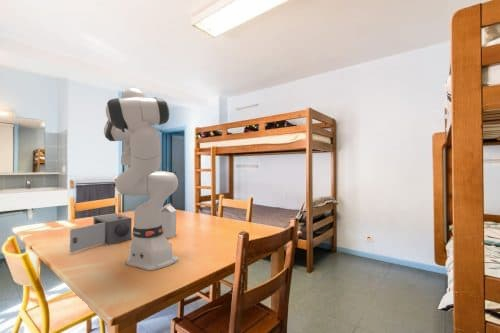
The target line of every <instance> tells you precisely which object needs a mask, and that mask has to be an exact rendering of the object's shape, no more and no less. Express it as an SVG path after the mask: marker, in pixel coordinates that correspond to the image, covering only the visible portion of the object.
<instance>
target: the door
mask: <svg viewBox="0 0 500 333" xmlns="http://www.w3.org/2000/svg"><path fill="white" fill-rule="evenodd" d="M105 243H107V222H104V223H99V224H94V225H93V224H90V225H86V226H80V227H75V228H71V229H70V230H69V252H70V253H74V252H78V251H82V250H84V249H89V248H92V247H96V246H99V245H103V244H105Z"/></svg>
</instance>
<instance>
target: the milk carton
mask: <svg viewBox="0 0 500 333" xmlns="http://www.w3.org/2000/svg"><path fill="white" fill-rule="evenodd" d="M161 225H162V228H163V229H164V230H163V235H164V237H165V238H166V239H172V238H174V237H175V236H176V235H177V209H175V207H173V206H172V203H168V204H165V205H163V207H162V212H161Z"/></svg>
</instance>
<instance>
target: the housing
mask: <svg viewBox="0 0 500 333" xmlns="http://www.w3.org/2000/svg"><path fill="white" fill-rule="evenodd" d="M132 220H133V219H132V217H129V216H125V215H122V214H120V213H119V214H118V213H112V214H111V213H110V214H102V215H97V216H95V215H94V216H93V224H92V225H94V224H99V223H104V222H107V243H104V244H105V245H108V246H109V245H113V244H118V243H121V242H125V241H130V240H131V241H132Z"/></svg>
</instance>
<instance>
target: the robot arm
mask: <svg viewBox="0 0 500 333" xmlns="http://www.w3.org/2000/svg"><path fill="white" fill-rule="evenodd" d="M170 112H171V111H170V108H169V106H168V103H167V101H165V100H164V98H160V97H147V96H146V94H145V93H144V92H143V91H142V90H141V89H139V88H135V87H133V88H132V87H131V88H127V89H125V90H124V91H123V93H122V94H121V97H120V98H118V97H116V98H111V99H108V101H107V102H106V107H105V116H106V118H107V121H106V123H105V125H104V128H103V134H104V137H105V139H106V140H108V141H109V142H123V144H122V145H123V146H122V150H123V151H122V152H121V156H120V158H121V159H120V165H121V166H127V169H126V170H125V171H122V172H121V173H119V175H118V176H117V178H116V179H115V189H116V190H117V192H118V194H120V195H125V196H131V197H133V196H135V197H136V196H137V197H138V196H139V197H140V196H141V197H142V196H148V197H149V199H148V200H147V201H145V202H143V203H141V204H139V205H138V206H136V208H135V210H134V213H133V214H134V215H133V216H134V217H133V218H134V220H133V221H134V223H133V224H134V225H133V227H132V237H133V238H131V241H130V242H129V252H128V259H126V260H125V264H126V265H129V266H132V267H136V268H138V269H139V268H140V269H143V270H146V271H155V270H159V269H162V268H166V267H168V266H171V265H173V264H175V263H177V262H178V261H179V257H178V256H176V255H175V254H174V253H173V244H172V242H169V241H168V238H165V237H164V235H163V230H164V229H163V228H162V225H161V212H162V209H163V207H164V204H165V203H166V200H167V199H168V198H169V197H170V196H171V195H172V194H174V193H175V192H176V191H177V189H178V186H179V180H178V177H177V175H176V174H175V173H174V172H169V171H165V170H164V171H163V170H159V169H160V167H161V164H162V154H161V153H162V152H161V150H162V149H161V148H162V147H161V141H160V135H159V133H158V130H157V128H155V127H154V126H157V125H158V126H160V125H164V124H166V123H167V122H168V121H169V119H170Z"/></svg>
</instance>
